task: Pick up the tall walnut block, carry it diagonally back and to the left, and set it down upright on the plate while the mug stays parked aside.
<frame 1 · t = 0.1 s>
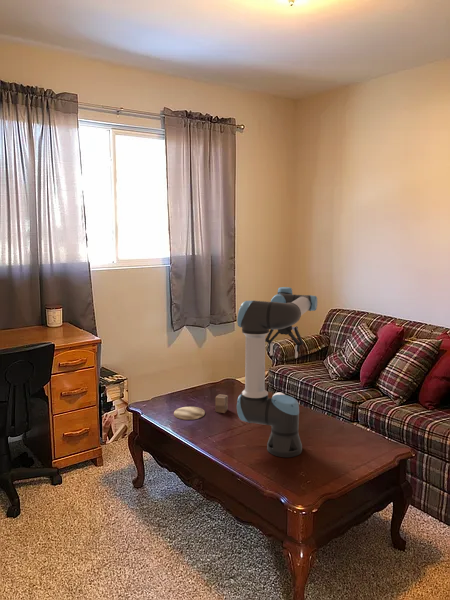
hand: (283, 356, 260), 28 cm above the table, fingers open, 13 cm apart
mug: (275, 410, 260), on the table
plate: (189, 413, 254), on the table
block: (221, 410, 258), on the table
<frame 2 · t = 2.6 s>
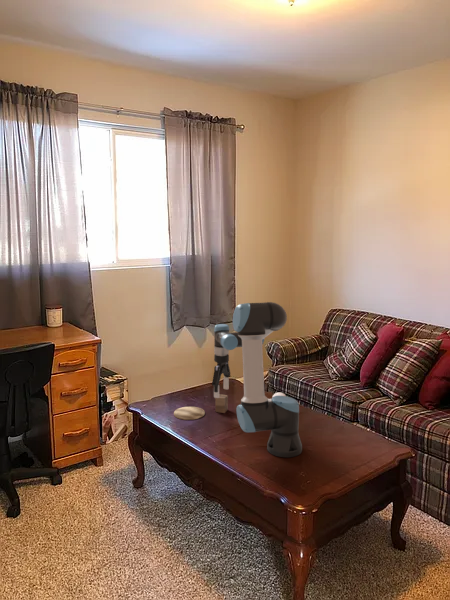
hand: (221, 393, 257), 9 cm above the table, fingers open, 13 cm apart
nothing on the table moved.
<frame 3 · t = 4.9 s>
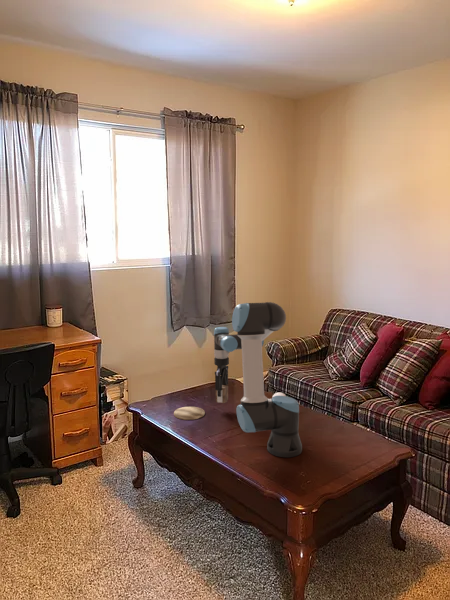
hand: (221, 400, 257), 6 cm above the table, fingers closed on block, 5 cm apart
block: (221, 401, 257), point 5 cm above the table, touching gripper
everything else where it was.
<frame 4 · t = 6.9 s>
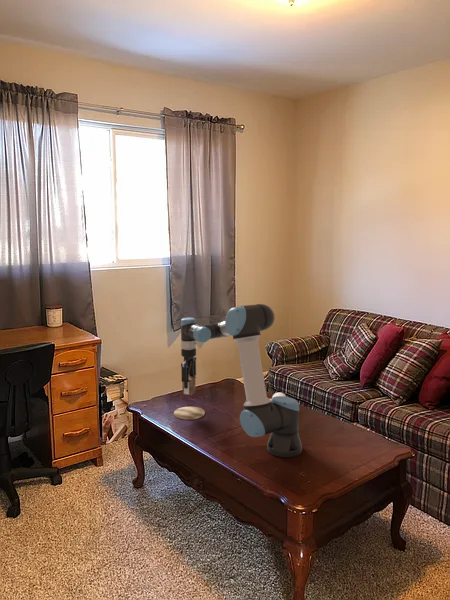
hand: (189, 392, 252), 12 cm above the table, fingers closed on block, 5 cm apart
block: (189, 392, 252), point 11 cm above the table, touching gripper
everything else where it was.
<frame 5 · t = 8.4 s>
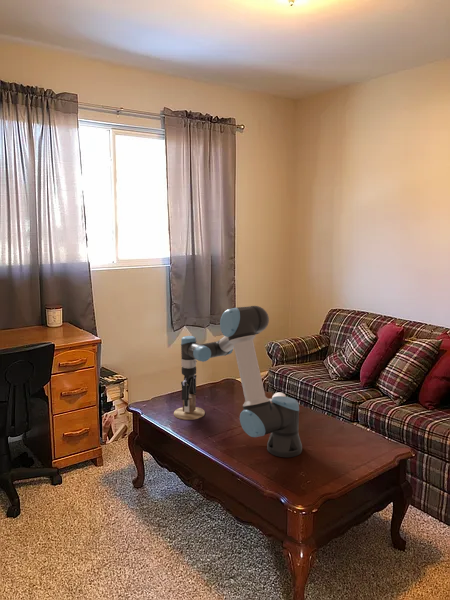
hand: (189, 409, 254), 2 cm above the table, fingers closed on block, 5 cm apart
block: (189, 410, 254), point 2 cm above the table, touching gripper
everything else where it was.
when the fingers open (1 cm above the table, at t = 8.9 s): block stays where it is, resting on plate.
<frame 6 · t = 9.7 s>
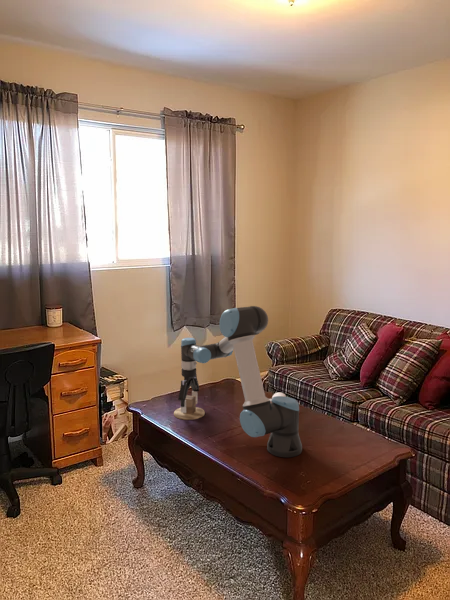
hand: (189, 407, 253), 3 cm above the table, fingers open, 13 cm apart
block: (189, 412, 254), point 1 cm above the table, touching plate
everything else where it was.
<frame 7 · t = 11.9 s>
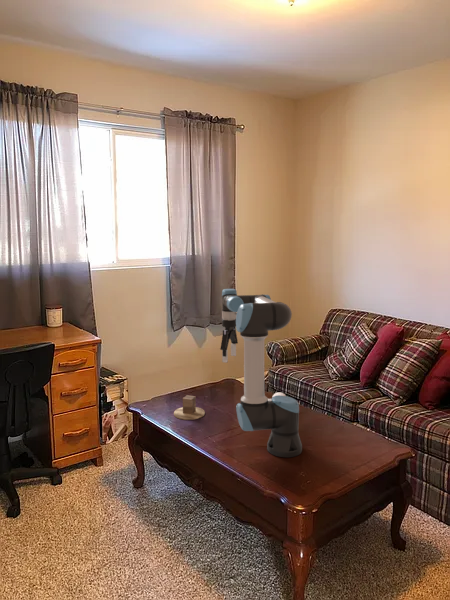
hand: (229, 359, 256), 27 cm above the table, fingers open, 13 cm apart
nothing on the table moved.
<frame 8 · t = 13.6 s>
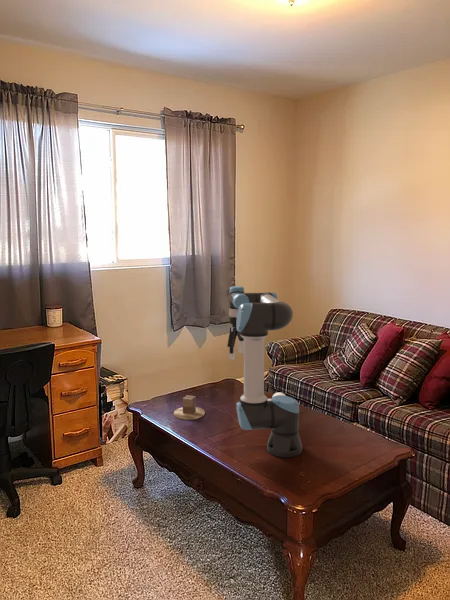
hand: (236, 356, 257), 29 cm above the table, fingers open, 13 cm apart
nothing on the table moved.
at the end: block 0.0 cm from the plate (horizontally); block tilted 0°; the gripper is holding nothing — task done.
